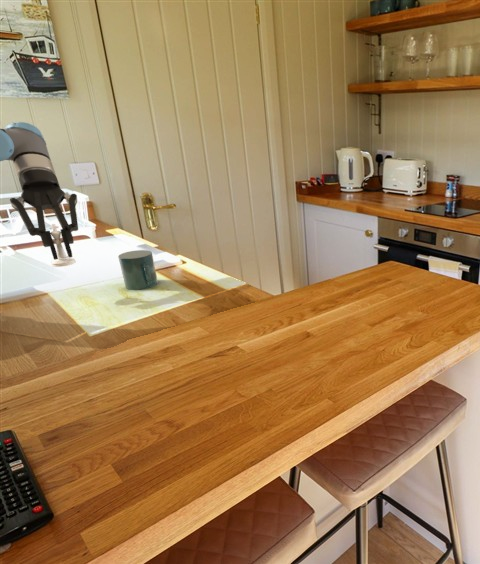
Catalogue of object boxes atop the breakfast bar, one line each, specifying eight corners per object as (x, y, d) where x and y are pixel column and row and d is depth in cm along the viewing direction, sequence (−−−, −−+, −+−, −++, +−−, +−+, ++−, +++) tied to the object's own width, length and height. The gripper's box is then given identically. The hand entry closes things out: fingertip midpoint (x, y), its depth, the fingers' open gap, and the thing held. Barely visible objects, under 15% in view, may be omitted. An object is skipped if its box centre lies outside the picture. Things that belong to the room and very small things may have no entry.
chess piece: (46, 265, 104) (34, 225, 100) (65, 259, 108) (55, 221, 105) (62, 267, 103) (51, 227, 99) (81, 261, 107) (71, 222, 104)
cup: (120, 285, 119) (113, 254, 116) (150, 277, 125) (144, 248, 122) (136, 294, 113) (129, 262, 110) (166, 285, 119) (160, 255, 116)
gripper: (75, 184, 115) (100, 257, 109) (0, 189, 105) (24, 269, 100) (73, 166, 109) (99, 242, 104) (-6, 169, 100) (18, 253, 94)
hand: (62, 255), depth 102 cm, fingers closed on chess piece, 2 cm apart
